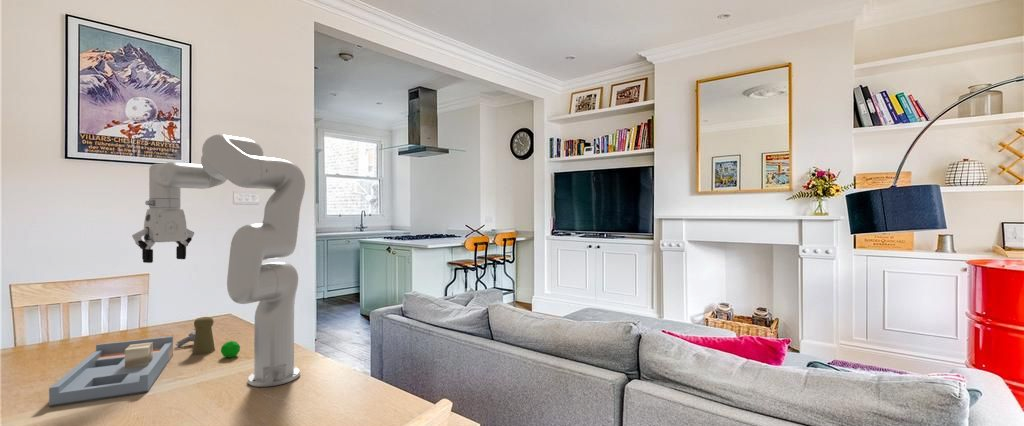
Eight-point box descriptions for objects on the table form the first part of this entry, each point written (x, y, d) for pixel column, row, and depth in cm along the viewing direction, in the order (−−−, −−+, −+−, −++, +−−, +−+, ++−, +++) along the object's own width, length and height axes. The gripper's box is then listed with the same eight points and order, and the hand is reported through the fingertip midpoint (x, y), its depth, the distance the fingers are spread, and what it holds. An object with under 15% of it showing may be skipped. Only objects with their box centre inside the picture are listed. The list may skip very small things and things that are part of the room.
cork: (219, 348, 146) (219, 315, 146) (205, 354, 140) (205, 320, 140) (202, 348, 147) (202, 315, 147) (187, 354, 141) (187, 319, 141)
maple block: (148, 365, 122) (148, 347, 122) (124, 368, 120) (124, 349, 120) (152, 359, 127) (152, 342, 126) (130, 362, 124) (130, 344, 124)
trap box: (147, 392, 111) (147, 368, 111) (49, 407, 103) (49, 381, 103) (173, 355, 140) (173, 336, 140) (97, 364, 131) (97, 344, 131)
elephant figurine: (171, 345, 150) (199, 330, 157) (182, 358, 149) (210, 342, 157) (172, 331, 144) (201, 316, 151) (183, 345, 143) (212, 329, 151)
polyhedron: (216, 359, 136) (217, 343, 136) (229, 353, 141) (229, 338, 141) (231, 360, 136) (231, 344, 136) (243, 355, 140) (243, 339, 140)
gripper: (142, 204, 126) (142, 264, 126) (201, 205, 143) (201, 258, 143) (124, 204, 128) (124, 263, 129) (184, 204, 145) (184, 257, 145)
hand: (165, 260), depth 136 cm, fingers open, 9 cm apart
